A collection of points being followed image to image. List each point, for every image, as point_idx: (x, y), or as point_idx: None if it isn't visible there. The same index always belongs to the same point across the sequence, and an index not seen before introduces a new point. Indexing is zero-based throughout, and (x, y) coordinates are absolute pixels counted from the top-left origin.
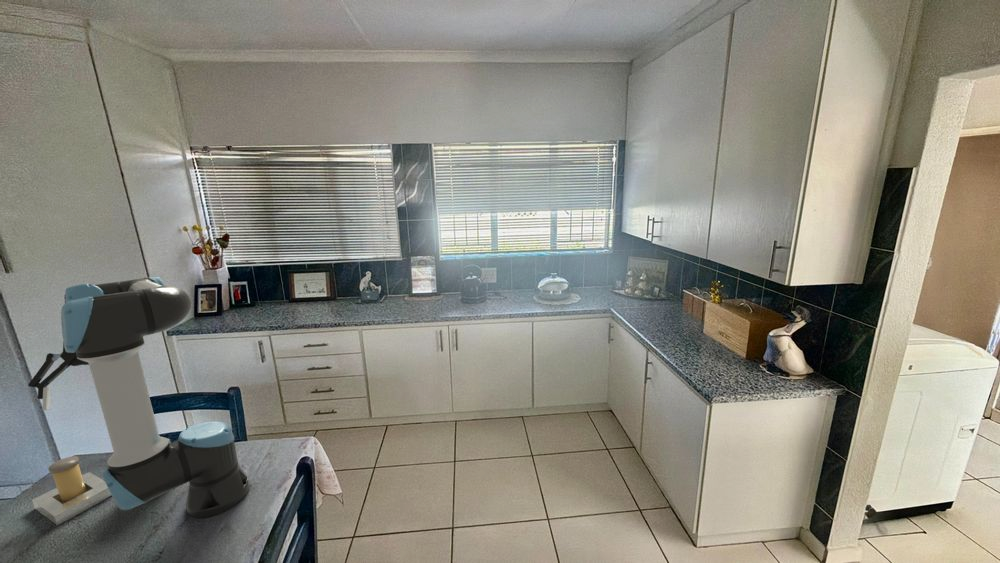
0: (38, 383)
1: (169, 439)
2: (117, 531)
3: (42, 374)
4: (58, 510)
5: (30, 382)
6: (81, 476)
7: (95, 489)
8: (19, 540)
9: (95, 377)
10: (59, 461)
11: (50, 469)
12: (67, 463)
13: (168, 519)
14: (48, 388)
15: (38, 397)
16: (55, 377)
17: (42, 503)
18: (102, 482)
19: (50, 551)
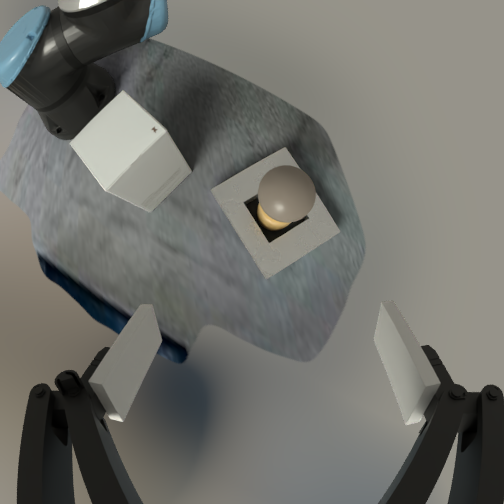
0: (468, 411)
1: (70, 142)
2: (194, 91)
3: (476, 461)
4: (284, 161)
5: (502, 402)
6: (259, 203)
7: (238, 194)
8: (323, 150)
9: None
10: (300, 210)
11: (308, 179)
12: (278, 185)
13: (136, 85)
14: (414, 398)
15: (432, 351)
16: (402, 468)
17: (318, 204)
18: (231, 215)
19: (271, 98)
